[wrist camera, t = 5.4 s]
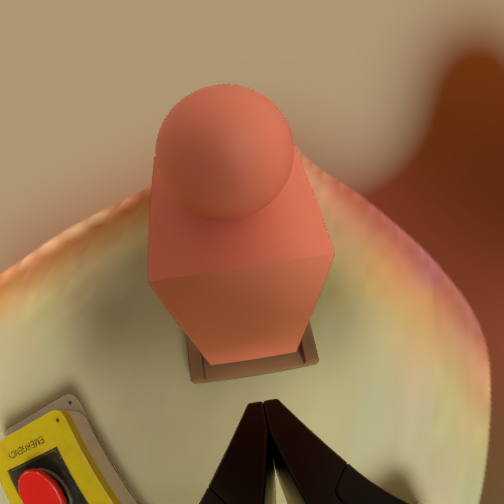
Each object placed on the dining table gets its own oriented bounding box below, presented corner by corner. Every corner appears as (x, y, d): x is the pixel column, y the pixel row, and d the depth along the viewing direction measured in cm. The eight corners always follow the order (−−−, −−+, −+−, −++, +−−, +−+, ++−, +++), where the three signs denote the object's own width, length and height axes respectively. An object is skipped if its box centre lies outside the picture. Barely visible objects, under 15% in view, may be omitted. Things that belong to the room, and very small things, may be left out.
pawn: (296, 351, 18) (367, 150, 5) (211, 365, 17) (89, 189, 5) (279, 277, 20) (296, 49, 8) (202, 289, 20) (128, 72, 8)
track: (316, 364, 18) (321, 357, 17) (194, 383, 18) (187, 378, 16) (274, 197, 25) (275, 181, 24) (182, 211, 25) (177, 196, 23)
